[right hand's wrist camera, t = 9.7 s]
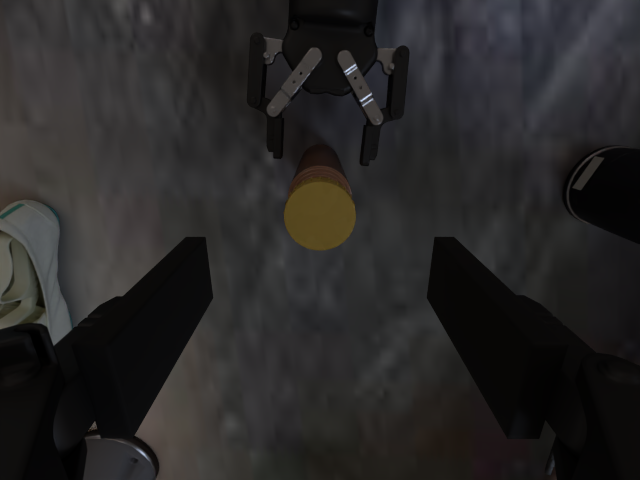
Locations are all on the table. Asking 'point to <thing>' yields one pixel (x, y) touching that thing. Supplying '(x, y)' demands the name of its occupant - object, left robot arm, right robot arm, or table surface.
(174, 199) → the table surface
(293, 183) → the bottle
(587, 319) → the table surface
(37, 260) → the ballet flat
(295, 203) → the cap
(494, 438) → the table surface
